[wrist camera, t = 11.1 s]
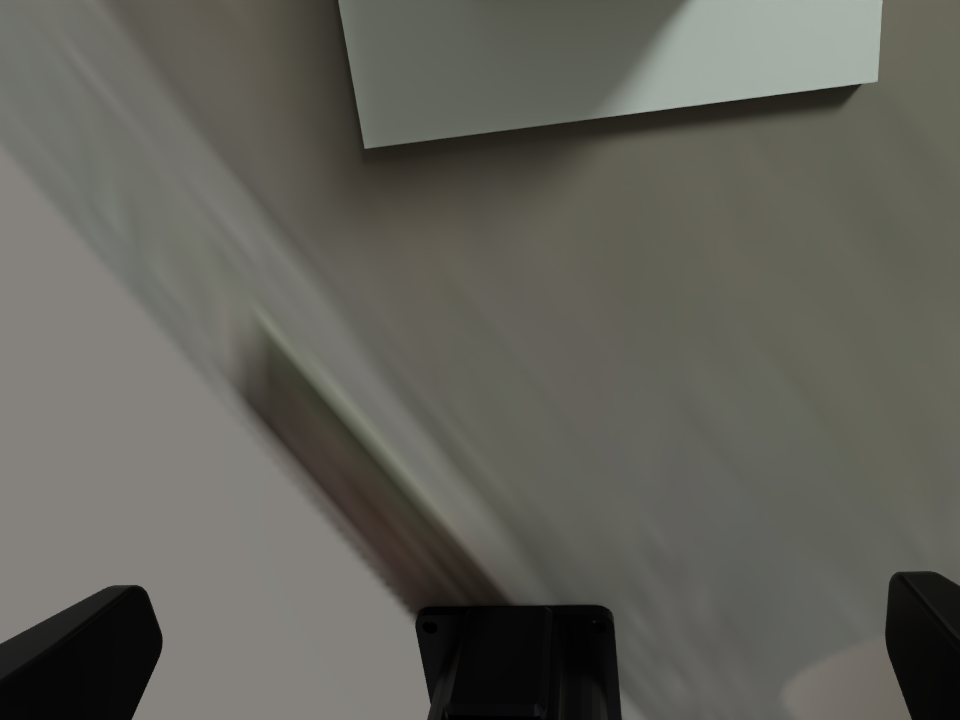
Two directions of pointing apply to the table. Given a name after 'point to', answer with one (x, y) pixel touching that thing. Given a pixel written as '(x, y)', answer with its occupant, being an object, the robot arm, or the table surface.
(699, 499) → the table surface
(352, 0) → the board
